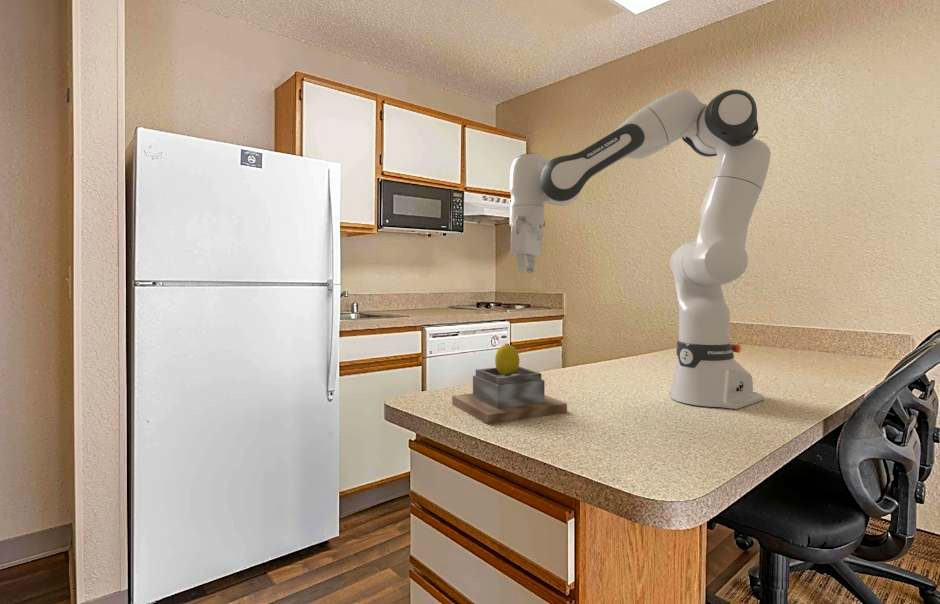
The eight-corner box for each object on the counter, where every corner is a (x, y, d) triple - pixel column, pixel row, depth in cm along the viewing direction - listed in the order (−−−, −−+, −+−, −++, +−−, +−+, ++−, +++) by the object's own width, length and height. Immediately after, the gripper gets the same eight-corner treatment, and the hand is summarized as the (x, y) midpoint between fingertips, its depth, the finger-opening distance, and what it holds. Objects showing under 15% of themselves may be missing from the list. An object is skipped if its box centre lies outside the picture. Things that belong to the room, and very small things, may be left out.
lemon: (511, 381, 110) (511, 345, 110) (490, 378, 113) (490, 344, 113) (524, 376, 115) (523, 342, 114) (503, 374, 118) (503, 341, 117)
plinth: (523, 394, 127) (523, 361, 126) (566, 412, 111) (567, 374, 110) (452, 404, 118) (452, 368, 118) (487, 424, 102) (487, 383, 101)
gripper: (530, 213, 116) (529, 272, 117) (546, 222, 135) (545, 273, 136) (504, 214, 118) (504, 272, 119) (523, 223, 138) (523, 273, 138)
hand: (526, 273), depth 128 cm, fingers open, 8 cm apart
